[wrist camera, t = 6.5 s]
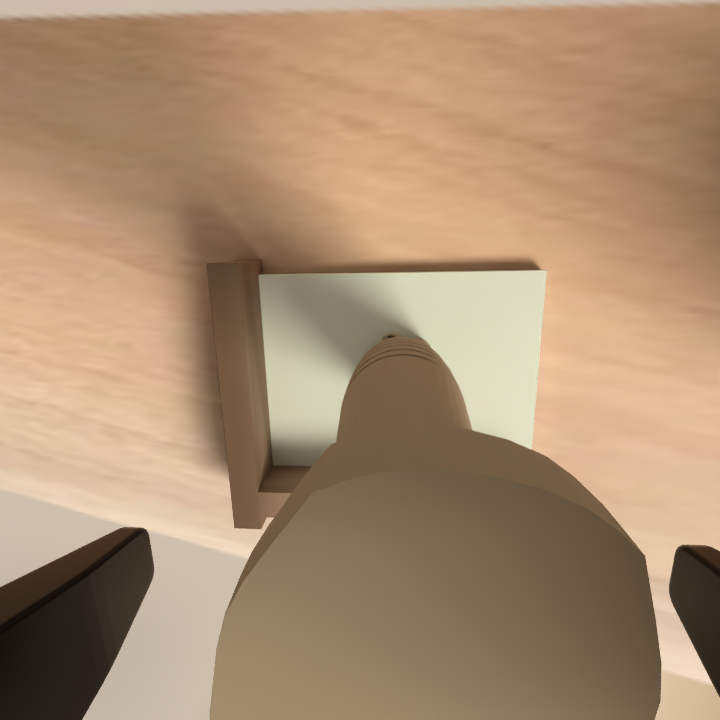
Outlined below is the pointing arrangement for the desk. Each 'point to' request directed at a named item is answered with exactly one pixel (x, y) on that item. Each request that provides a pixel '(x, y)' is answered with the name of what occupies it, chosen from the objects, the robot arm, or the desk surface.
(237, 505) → the walls
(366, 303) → the pad
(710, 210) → the desk surface
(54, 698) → the robot arm
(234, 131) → the desk surface
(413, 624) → the handle
